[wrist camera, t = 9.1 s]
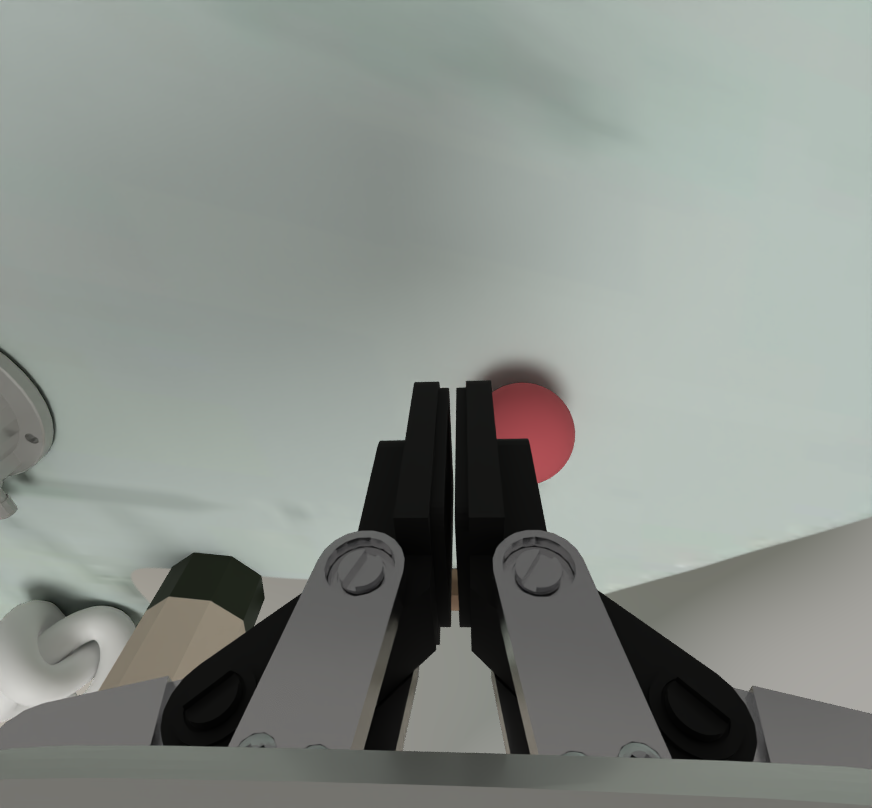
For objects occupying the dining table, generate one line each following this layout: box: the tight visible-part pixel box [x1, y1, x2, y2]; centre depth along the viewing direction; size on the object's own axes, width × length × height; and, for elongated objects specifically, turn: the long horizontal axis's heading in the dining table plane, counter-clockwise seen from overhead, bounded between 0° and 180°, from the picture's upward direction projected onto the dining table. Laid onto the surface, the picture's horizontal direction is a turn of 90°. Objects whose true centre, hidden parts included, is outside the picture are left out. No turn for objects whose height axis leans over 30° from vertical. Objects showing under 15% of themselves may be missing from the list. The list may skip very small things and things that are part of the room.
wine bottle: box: [98, 553, 264, 691], centre depth 30 cm, size 8×8×30 cm
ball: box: [492, 383, 575, 483], centre depth 28 cm, size 6×6×6 cm
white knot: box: [0, 600, 136, 723], centre depth 43 cm, size 11×12×9 cm
